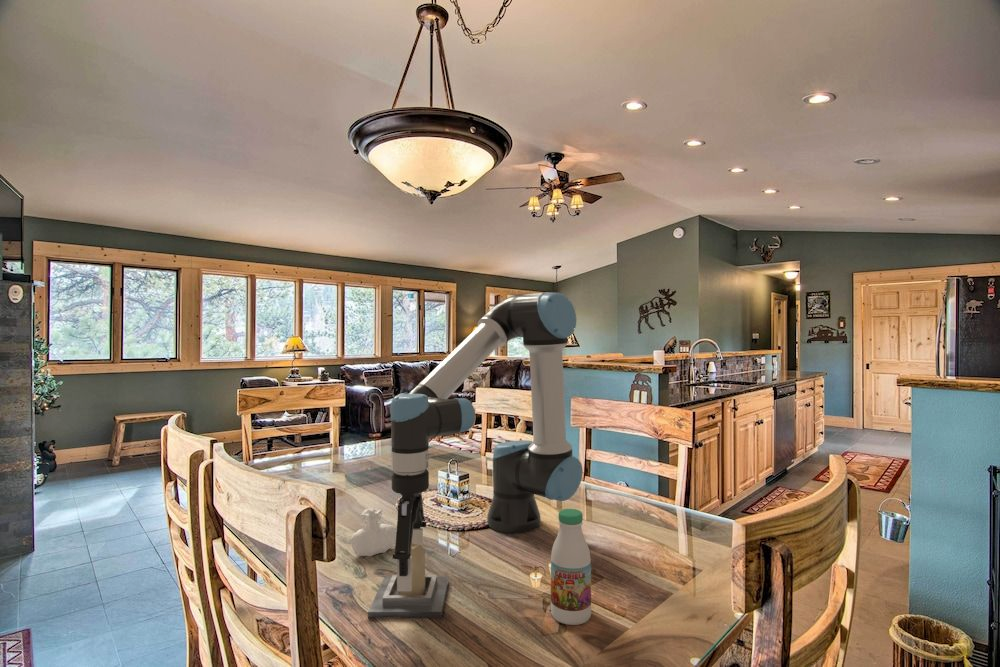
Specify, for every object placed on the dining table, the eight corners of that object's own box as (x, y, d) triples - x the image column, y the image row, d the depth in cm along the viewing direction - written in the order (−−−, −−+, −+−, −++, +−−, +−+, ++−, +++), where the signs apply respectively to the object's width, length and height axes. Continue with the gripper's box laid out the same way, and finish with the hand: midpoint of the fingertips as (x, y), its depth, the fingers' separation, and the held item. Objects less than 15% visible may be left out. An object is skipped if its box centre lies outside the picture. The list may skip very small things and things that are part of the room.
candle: (429, 587, 108) (428, 540, 108) (419, 601, 103) (418, 551, 103) (404, 584, 109) (404, 537, 109) (393, 598, 104) (393, 548, 104)
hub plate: (448, 582, 113) (448, 569, 113) (441, 618, 99) (440, 604, 99) (384, 582, 113) (384, 569, 113) (368, 618, 99) (367, 604, 99)
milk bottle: (547, 605, 103) (547, 505, 103) (585, 603, 104) (585, 504, 104) (555, 627, 96) (554, 520, 95) (595, 625, 96) (595, 518, 96)
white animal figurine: (395, 553, 133) (383, 510, 138) (405, 542, 128) (393, 499, 133) (349, 565, 126) (339, 521, 131) (358, 555, 121) (347, 509, 126)
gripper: (418, 489, 93) (419, 606, 93) (436, 455, 118) (436, 547, 118) (377, 489, 93) (377, 606, 93) (403, 455, 118) (404, 547, 118)
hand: (410, 573), depth 106 cm, fingers open, 13 cm apart
